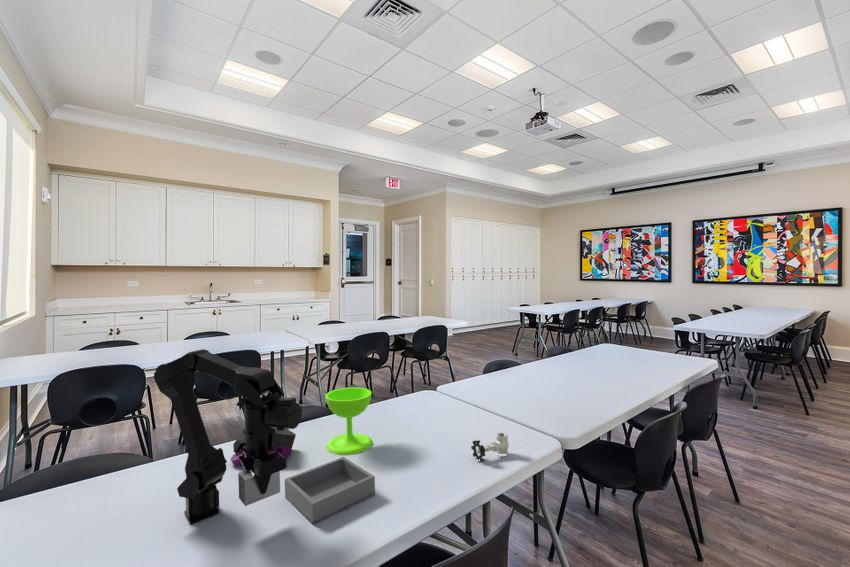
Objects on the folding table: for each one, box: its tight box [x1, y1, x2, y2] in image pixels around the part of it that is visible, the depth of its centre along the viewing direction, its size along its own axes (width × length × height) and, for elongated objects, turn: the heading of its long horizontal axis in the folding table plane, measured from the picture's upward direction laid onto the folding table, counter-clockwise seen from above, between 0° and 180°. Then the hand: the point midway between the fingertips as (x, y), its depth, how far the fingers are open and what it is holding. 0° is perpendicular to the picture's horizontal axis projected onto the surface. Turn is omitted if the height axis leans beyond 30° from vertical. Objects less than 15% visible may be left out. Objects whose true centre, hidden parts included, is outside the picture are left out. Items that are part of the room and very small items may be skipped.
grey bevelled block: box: [237, 468, 281, 507], centre depth 91 cm, size 8×4×6 cm, turn 133°
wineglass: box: [324, 387, 373, 456], centre depth 134 cm, size 16×16×18 cm
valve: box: [470, 432, 510, 463], centre depth 123 cm, size 7×7×12 cm
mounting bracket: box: [230, 428, 293, 467], centre depth 125 cm, size 10×8×18 cm
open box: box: [284, 456, 376, 525], centre depth 103 cm, size 18×16×5 cm
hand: (259, 489), depth 91 cm, fingers closed on grey bevelled block, 4 cm apart
